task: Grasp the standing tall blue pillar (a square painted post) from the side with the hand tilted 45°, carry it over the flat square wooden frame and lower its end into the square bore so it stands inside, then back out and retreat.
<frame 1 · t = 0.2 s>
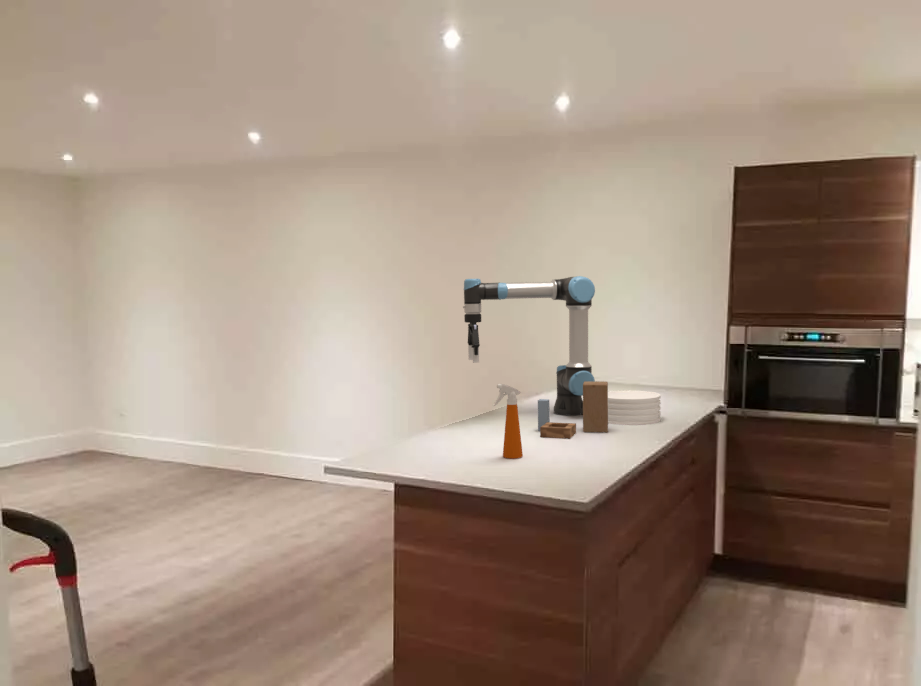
hand: (473, 361, 334), 28 cm above the counter, tool pointing down, fingers open, 13 cm apart
wooden block: (595, 430, 313), on the counter
square wooden frame: (558, 435, 304), on the counter
tall blue pillar: (543, 430, 315), on the counter
plate stack: (628, 420, 338), on the counter
spray bottle: (508, 457, 266), on the counter
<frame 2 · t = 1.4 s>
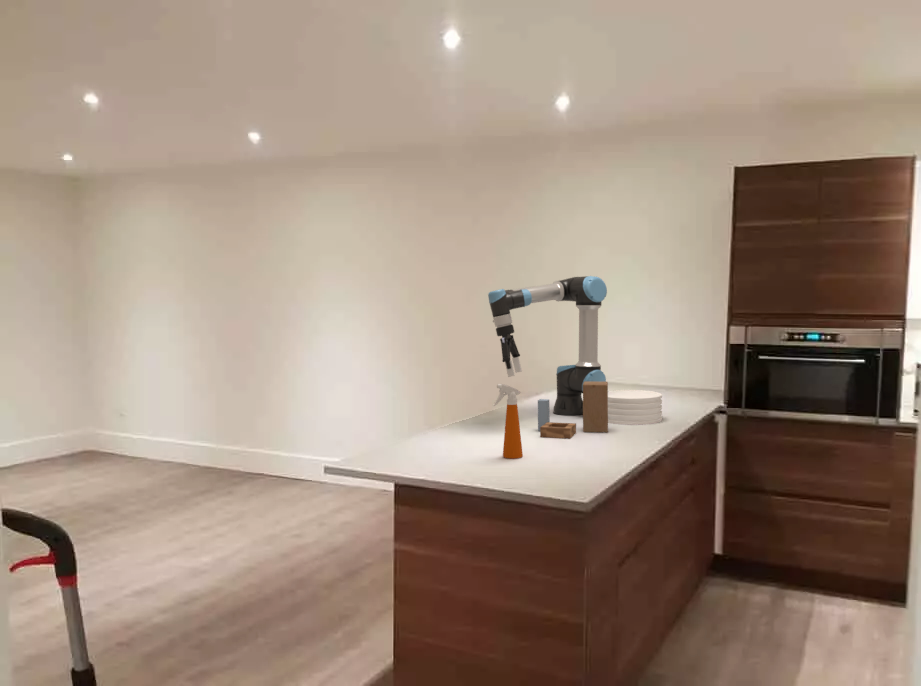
hand: (515, 374, 319), 23 cm above the counter, tool pointing down, fingers open, 13 cm apart
plate stack: (629, 419, 338), on the counter, touching arm
everything else where it was.
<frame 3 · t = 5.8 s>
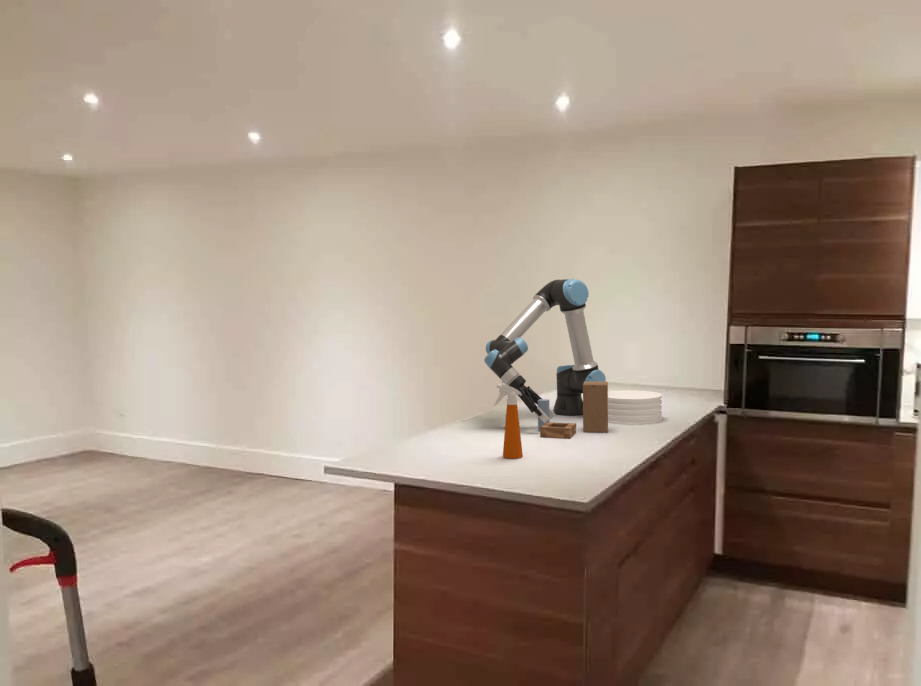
hand: (550, 419, 313), 5 cm above the counter, tool tilted 45°, fingers open, 10 cm apart
plate stack: (629, 420, 338), on the counter
everything else where it was.
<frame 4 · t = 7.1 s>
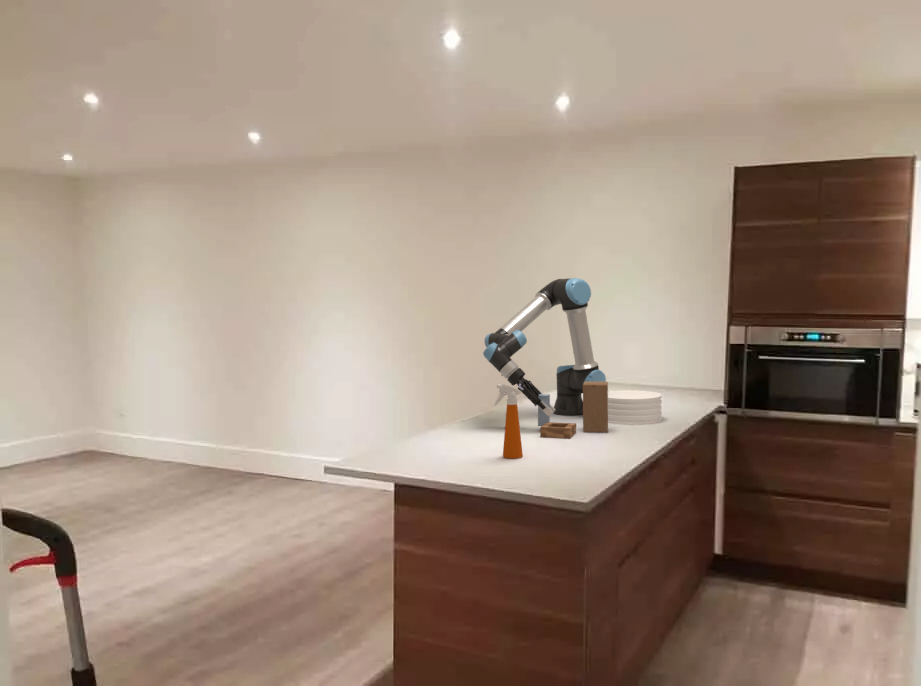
hand: (551, 413, 313), 8 cm above the counter, tool tilted 45°, fingers closed on tall blue pillar, 4 cm apart
tall blue pillar: (543, 425, 314), point 2 cm above the counter, touching gripper
everything else where it was.
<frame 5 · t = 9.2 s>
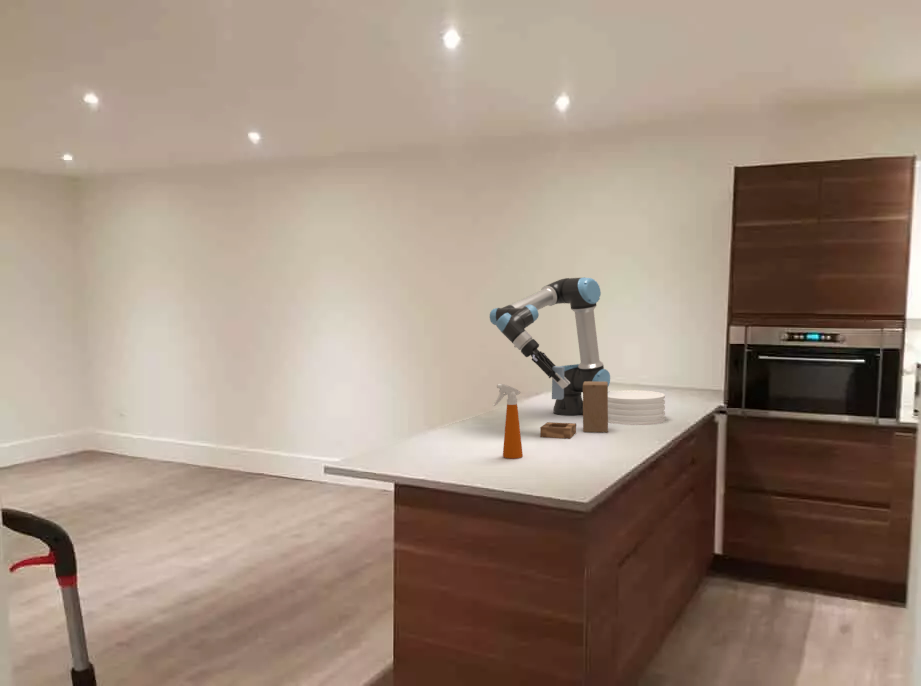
hand: (566, 385, 302), 20 cm above the counter, tool tilted 45°, fingers closed on tall blue pillar, 4 cm apart
tall blue pillar: (557, 398, 303), point 15 cm above the counter, touching gripper
plate stack: (632, 420, 338), on the counter
everything else where it was.
when the fingers open (7 cm above the counter, at t = 12.0 s): tall blue pillar drops 1 cm, resting in square wooden frame.
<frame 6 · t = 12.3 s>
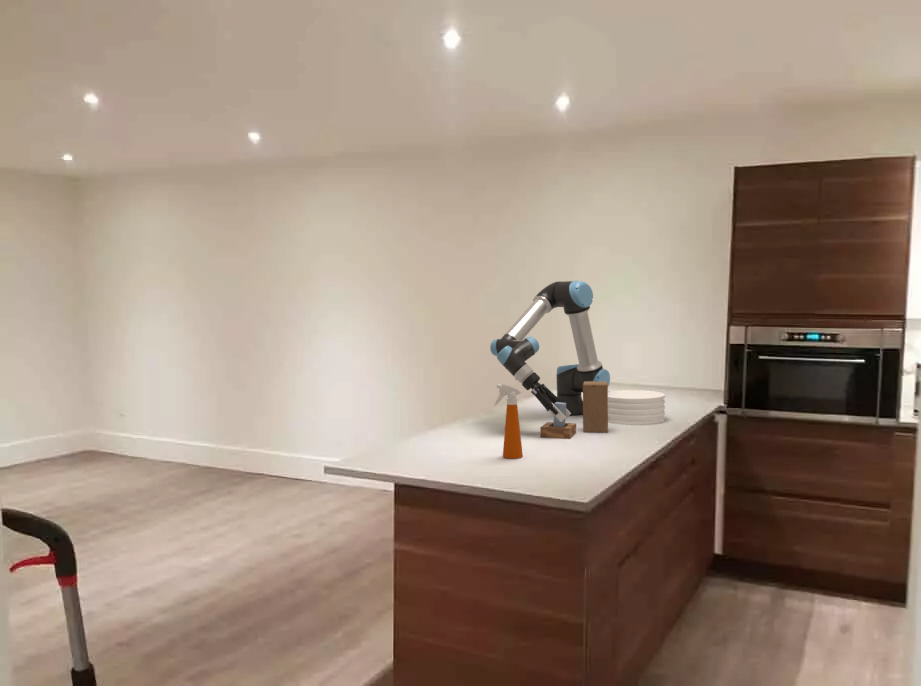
hand: (566, 417, 303), 7 cm above the counter, tool tilted 45°, fingers open, 9 cm apart
tall blue pillar: (558, 434, 304), resting in square wooden frame
plate stack: (632, 419, 337), on the counter, touching arm
everything else where it was.
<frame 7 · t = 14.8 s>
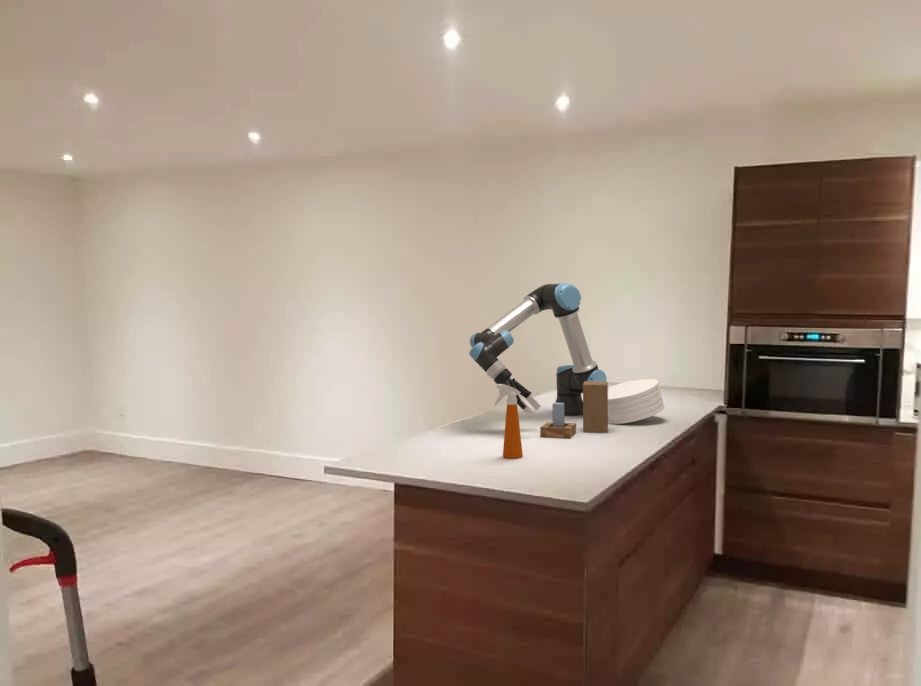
hand: (535, 411, 307), 9 cm above the counter, tool tilted 45°, fingers open, 13 cm apart
plate stack: (633, 413, 335), point 3 cm above the counter, touching arm
everything else where it was.
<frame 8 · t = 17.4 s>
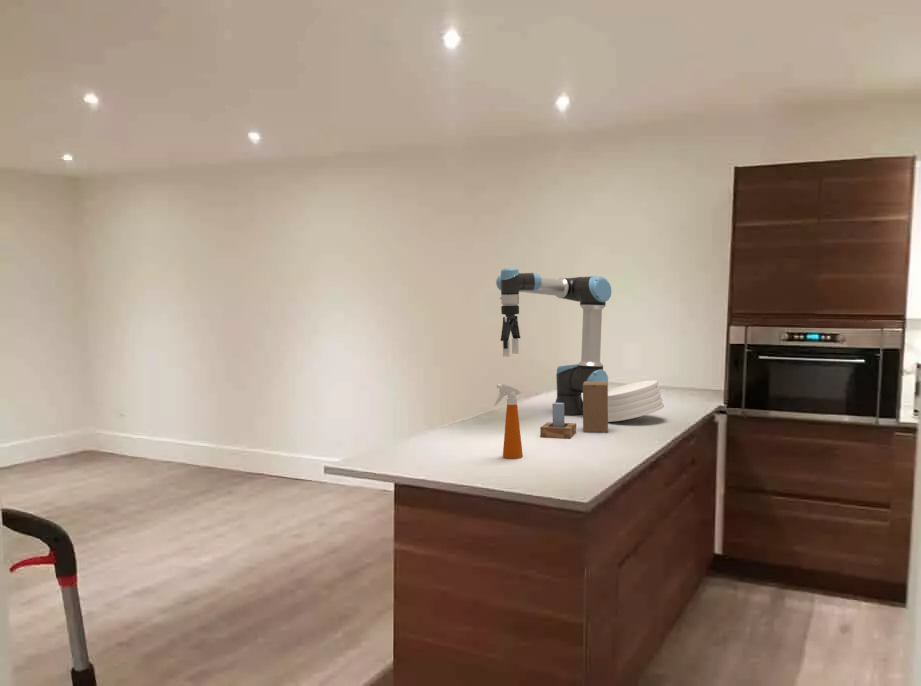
hand: (510, 355, 318), 32 cm above the counter, tool pointing down, fingers open, 13 cm apart
at the end: tall blue pillar 0.1 cm from the square wooden frame (horizontally); tall blue pillar resting in square wooden frame; tall blue pillar tilted 0° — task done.
